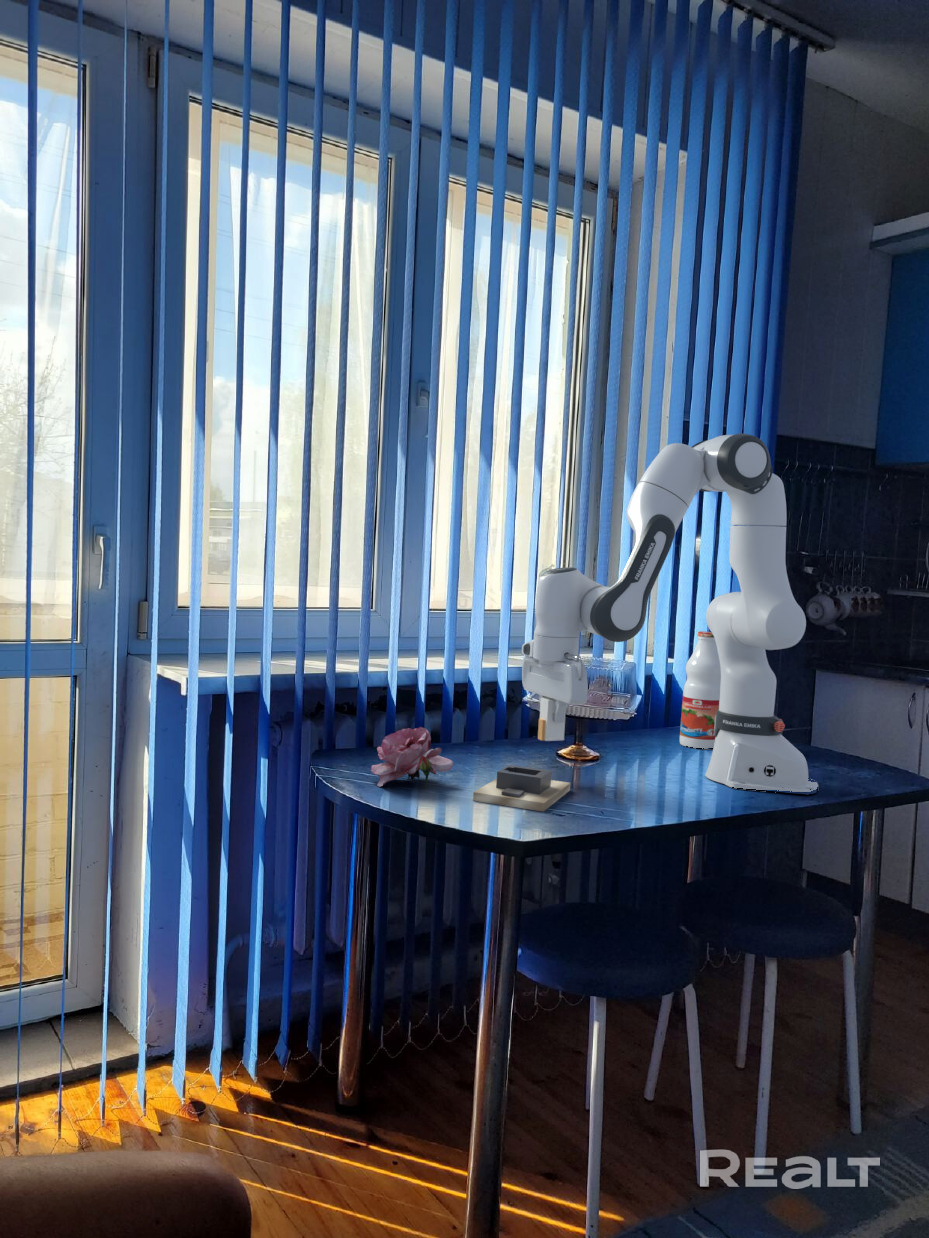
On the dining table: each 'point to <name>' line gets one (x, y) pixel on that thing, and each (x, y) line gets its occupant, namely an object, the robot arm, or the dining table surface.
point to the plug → (549, 722)
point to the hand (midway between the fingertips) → (552, 720)
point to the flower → (409, 756)
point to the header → (524, 779)
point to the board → (521, 796)
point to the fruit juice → (701, 694)
